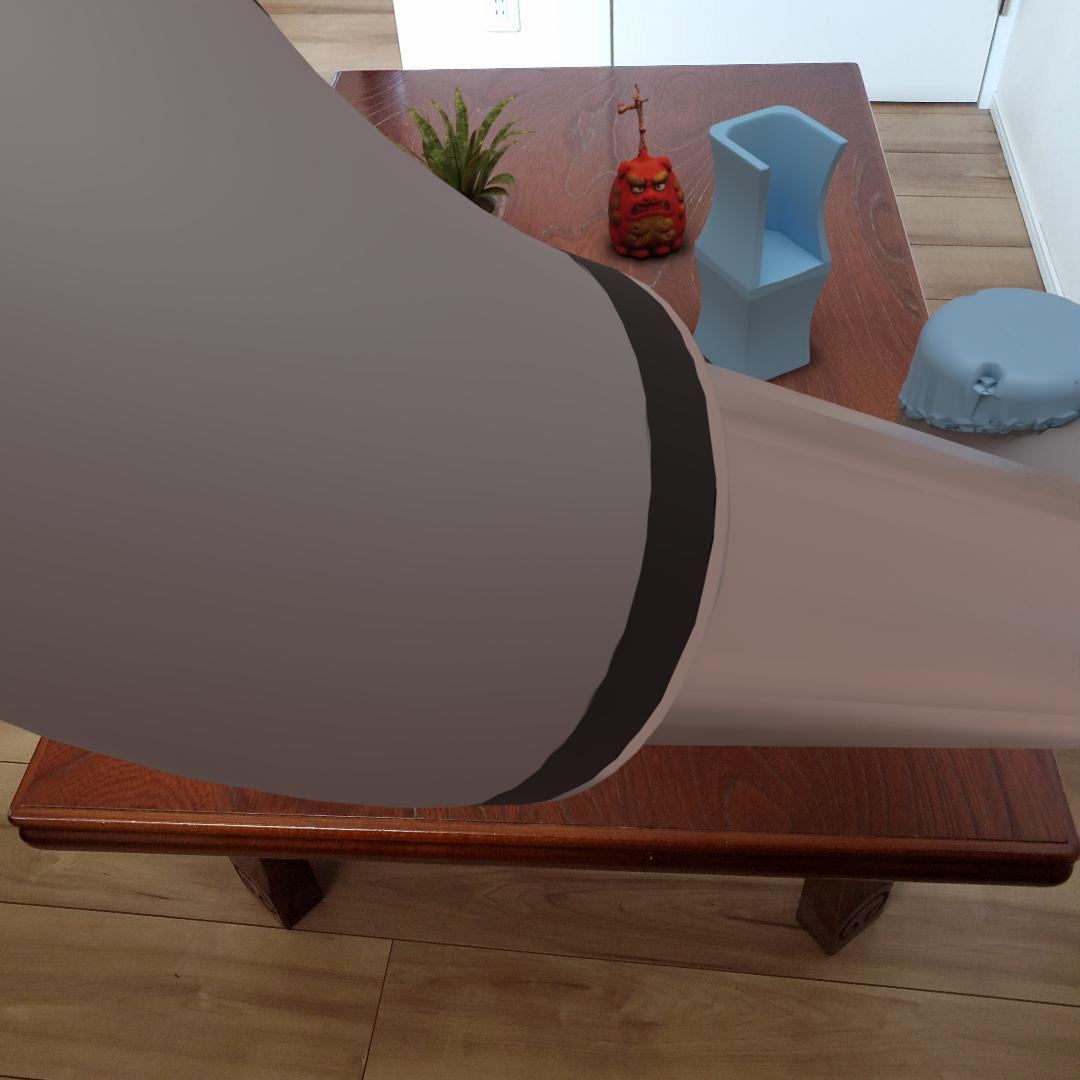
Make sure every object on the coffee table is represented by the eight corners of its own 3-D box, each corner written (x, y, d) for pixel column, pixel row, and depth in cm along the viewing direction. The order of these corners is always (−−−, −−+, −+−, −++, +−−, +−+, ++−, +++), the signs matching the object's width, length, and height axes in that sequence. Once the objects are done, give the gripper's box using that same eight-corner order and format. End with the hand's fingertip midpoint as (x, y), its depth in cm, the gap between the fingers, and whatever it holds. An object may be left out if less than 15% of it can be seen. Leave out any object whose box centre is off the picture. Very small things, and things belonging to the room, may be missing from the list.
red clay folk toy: (617, 267, 109) (615, 119, 98) (600, 231, 113) (597, 85, 103) (692, 255, 109) (699, 106, 98) (673, 219, 114) (677, 73, 103)
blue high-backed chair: (740, 390, 94) (760, 170, 80) (690, 343, 99) (700, 128, 85) (817, 360, 97) (849, 141, 82) (763, 315, 102) (785, 101, 87)
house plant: (570, 233, 113) (564, 73, 102) (528, 310, 104) (516, 144, 93) (440, 217, 117) (419, 61, 105) (388, 290, 108) (359, 128, 96)
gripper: (665, 718, 55) (301, 565, 64) (815, 459, 67) (493, 360, 76) (669, 620, 49) (270, 467, 58) (831, 358, 62) (482, 264, 70)
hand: (396, 407), depth 67 cm, fingers closed on plant pot, 8 cm apart
